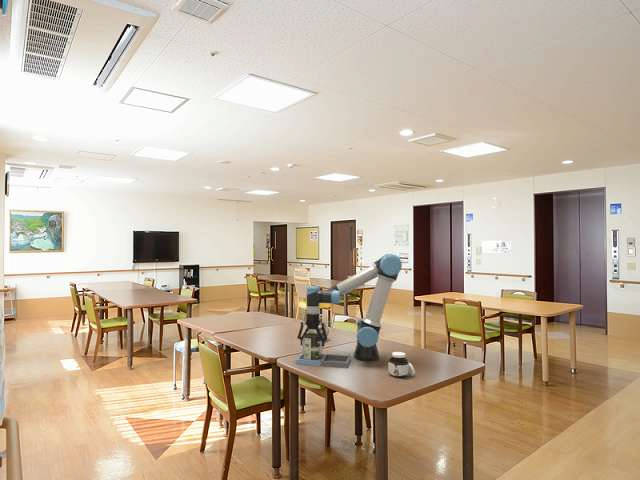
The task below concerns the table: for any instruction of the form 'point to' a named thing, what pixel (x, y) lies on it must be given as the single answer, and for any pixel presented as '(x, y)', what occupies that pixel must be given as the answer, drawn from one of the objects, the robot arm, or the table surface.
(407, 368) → the spread jar
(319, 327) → the sugar bowl
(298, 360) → the bay tray
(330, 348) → the table surface
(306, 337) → the coffee can
